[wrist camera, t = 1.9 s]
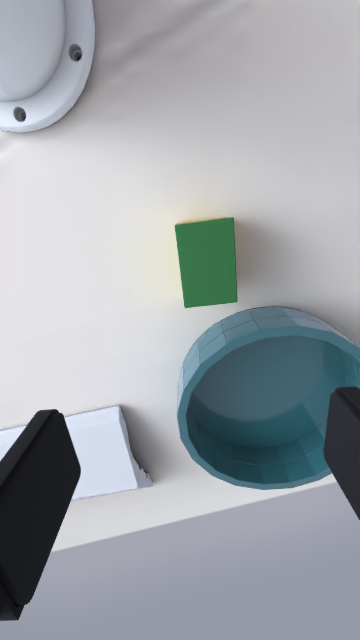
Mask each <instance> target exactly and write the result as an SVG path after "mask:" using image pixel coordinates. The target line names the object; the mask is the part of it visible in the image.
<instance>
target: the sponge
mask: <svg viewBox="0 0 360 640" xmlns="http://www.w3.org/2000/svg"><path fill="white" fill-rule="evenodd" d="M175 232H176V240H177V248H178V256H179V265H180V273H181V281H182V289H183V298H184V306H185V308H189V307H198V306H207V305H216V304H225V303H234V302H237V282H236V259H235V237H234V218H217V219H209V220H201V221H194V222H186V223H178V224H176V225H175Z"/></svg>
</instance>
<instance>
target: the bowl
mask: <svg viewBox="0 0 360 640" xmlns="http://www.w3.org/2000/svg"><path fill="white" fill-rule="evenodd" d="M350 386H356V387H358V388H359V389H360V347H359V346H357V345H356V344H355V343H353V342H352V341H351V340H349V339H348V338H346V337H345V336H344V335H342V334H341V333H340V332H338V331H337V330H336V329H334V328H333V327H331V326H330V325H328V324H326V323H325V322H323V321H321V320H320V319H318V318H317V317H315V316H313V315H311V314H309V313H306V312H303V311H300V310H297V309H292V308H287V307H260V308H254V309H249V310H245V311H242V312H238V313H236V314H234V315H231V316H229V317H227V318H225V319H223V320H221V321H220V322H218V323H216V324H215V325H213V326H212V327H211V328H209V329H208V330H207V331H206V332H205V333H204V334H203V335H202V336H201V337H199V338H198V340H197V341H196V342H195V343H194V345H193V346H192V347H191V349H190V351H189V352H188V354H187V356H186V358H185V360H184V363H183V365H182V369H181V373H180V380H179V384H178V402H177V419H178V425H179V432H180V438H181V440H182V442H183V444H184V445H185V447H186V449H187V450H188V452H189V454H190V456H191V457H192V459H193V460H194V461H195V462H196V463H197V464H199V465H200V466H201V467H202V468H204V469H205V470H206V471H207V472H208V473H210V474H211V475H212V476H214V477H216V478H219V479H221V480H223V481H226V482H228V483H230V484H233V485H235V486H241V487H248V488H254V489H261V490H270V489H284V488H294V487H297V486H301V485H304V484H308V483H311V482H315V481H318V480H320V479H322V478H324V477H326V476H328V475H329V474H331V473H332V472H331V470H330V468H329V467H328V465H327V463H326V461H325V458H324V454H323V449H324V441H325V433H326V425H327V418H328V410H329V402H330V395H331V393H332V392H335V390H336V388H338V387H350Z"/></svg>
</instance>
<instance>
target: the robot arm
mask: <svg viewBox="0 0 360 640" xmlns="http://www.w3.org/2000/svg"><path fill="white" fill-rule="evenodd" d="M94 45H95V21H94V11H93V2H92V0H0V130H3V131H11V132H18V133H20V132H30V131H36V130H39V129H42V128H45V127H48V126H50V125H51V124H53V123H54V122H56V121H57V120H59V119H61V118H62V117H63V116H64V115H65V114H66V113H67V112H68V111H69V110H70V109H71V108H72V107H73V106H74V104H75V103H76V101H77V99H78V98H79V96H80V94H81V93H82V91H83V89H84V87H85V84H86V81H87V79H88V76H89V73H90V70H91V65H92V60H93V54H94ZM79 56H82V57H81V59H80V60H79V61H77V58H78V57H79ZM25 116H26V119H25V121H24V117H25ZM323 454H324V458H325V461H326V463H327V465H328V467H329V468H330V470H331V472H332V473H333V475H334V477H335V479H336V480H337V482H338V484H339V485H340V487H341V489H342V491H343V492H344V494H345V496H346V498H347V499H348V501H349V503H350V505H351V506H352V508H353V510H354V511H355V513H356V515H357V517H358V518H359V520H360V389H359V388H358V387H356V386H350V387H338V388H336V390H335V392H332V393H331V395H330V402H329V410H328V418H327V425H326V433H325V441H324V449H323ZM80 475H81V467H80V463H79V460H78V457H77V454H76V451H75V448H74V445H73V442H72V439H71V436H70V433H69V430H68V427H67V424H66V421H65V418H64V416H63V414H62V413H59V412H58V410H56V409H52V410H40V411H38V412H37V413H36V414H35V415H34V417H33V418H32V419H31V421H30V422H29V423H28V425H27V426H26V427H25V429H24V430H23V431H22V433H21V434H20V435H19V437H18V438H17V439H16V441H15V442H14V443H13V445H12V446H11V447H10V449H9V450H8V451H7V453H6V454H5V455H4V457H3V458H2V459H1V461H0V621H3V620H4V621H6V620H19V617H20V615H21V612H22V610H23V607H24V605H25V604H28V603H29V602H30V600H31V599H32V597H33V595H34V592H35V590H36V587H37V585H38V582H39V580H40V577H41V575H42V572H43V570H44V567H45V565H46V562H47V559H48V557H49V554H50V552H51V549H52V547H53V544H54V542H55V539H56V537H57V534H58V532H59V529H60V527H61V524H62V522H63V519H64V517H65V514H66V512H67V509H68V507H69V504H70V502H71V499H72V496H73V494H74V491H75V489H76V486H77V484H78V481H79V479H80Z"/></svg>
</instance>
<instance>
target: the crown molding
mask: <svg viewBox="0 0 360 640" xmlns="http://www.w3.org/2000/svg"><path fill="white" fill-rule="evenodd" d="M64 418H65V421H66V424H67V427H68V430H69V433H70V436H71V439H72V442H73V445H74V448H75V451H76V454H77V457H78V460H79V463H80V467H81V475H80V479H79V481H78V484H77V486H76V489H75V491H74V494H73V496H72V499H71V501H72V500H77V499H83V498H89V497H94V496H100V495H106V494H111V493H117V492H123V491H128V490H134V489H140V488H145V487H151V486H153V482H152V481H151V478H150V475H149V473H145V472H144V471H143V468H142V469H139V466H138V464H137V463H136V461H135V459H134V458H133V455H132V452H131V449H130V444H129V438H128V432H127V425H126V422H125V420H124V418H123V415H122V411H121V407H120V406H114V407H110V408H105V409H100V410H96V411H91V412H86V413H82V414H77V415H73V416H68V417H64ZM26 426H27V425H26ZM26 426H21V427H17V428H12V429H7V430H3V431H0V461H1V459H2V458H3V457H4V455H5V454H6V453H7V451H8V450H9V449H10V447H11V446H12V445H13V443H14V442H15V441H16V439H17V438H18V437H19V435H20V434H21V433H22V431H23V430H24V429H25V427H26Z"/></svg>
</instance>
